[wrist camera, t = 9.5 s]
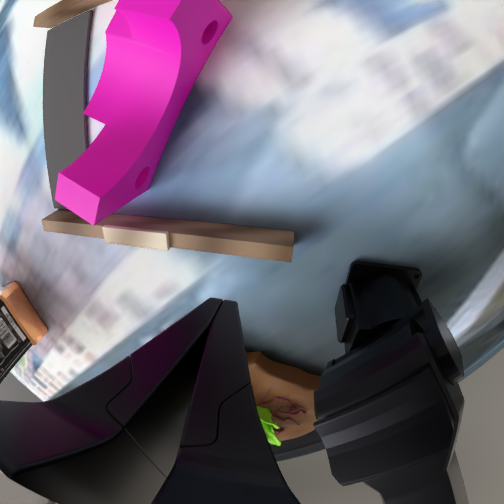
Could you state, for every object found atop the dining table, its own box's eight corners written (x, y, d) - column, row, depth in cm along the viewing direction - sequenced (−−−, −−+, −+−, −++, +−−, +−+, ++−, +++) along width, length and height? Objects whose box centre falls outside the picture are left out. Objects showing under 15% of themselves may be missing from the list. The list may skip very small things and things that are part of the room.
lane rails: (311, -37, 11) (311, -56, 8) (292, 246, 22) (290, 266, 19) (52, 17, 14) (32, 15, 11) (59, 221, 25) (42, 233, 22)
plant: (298, 435, 38) (291, 495, 28) (181, 407, 39) (158, 465, 29) (357, 369, 28) (363, 459, 18) (185, 326, 29) (143, 413, 19)
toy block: (163, -2, 13) (107, -32, 7) (233, 17, 14) (197, -24, 8) (95, 158, 21) (33, 184, 14) (149, 188, 21) (94, 225, 15)
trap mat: (92, 11, 14) (90, 10, 13) (95, 208, 23) (93, 210, 23) (50, 31, 14) (47, 31, 14) (56, 206, 24) (54, 208, 23)
